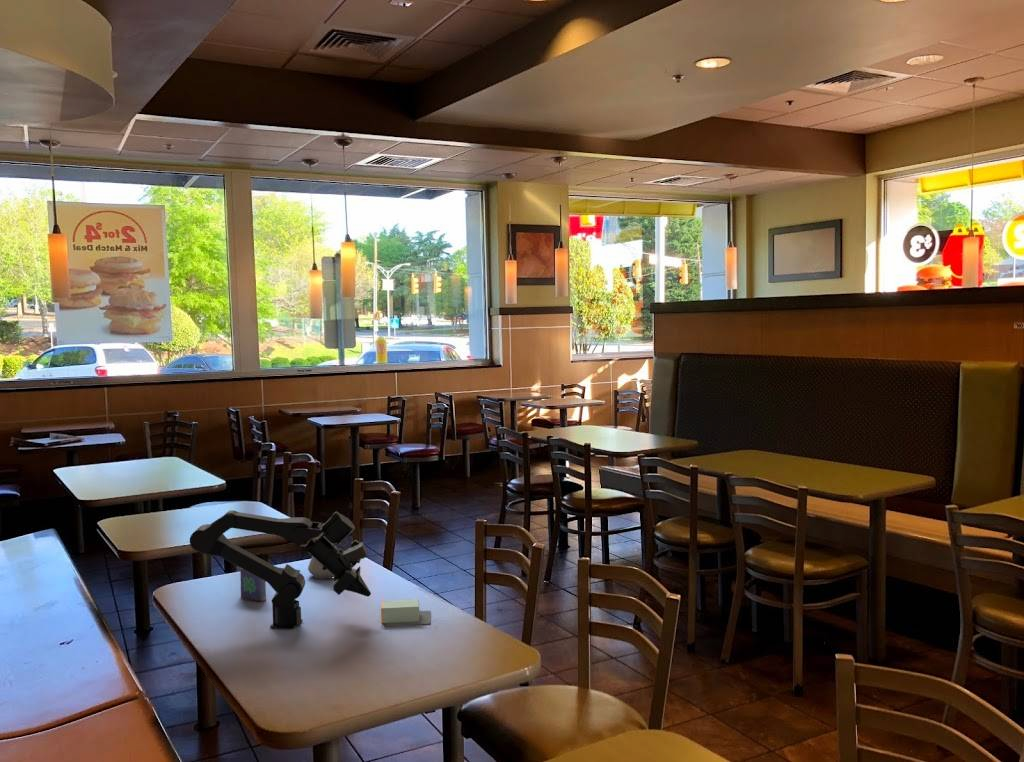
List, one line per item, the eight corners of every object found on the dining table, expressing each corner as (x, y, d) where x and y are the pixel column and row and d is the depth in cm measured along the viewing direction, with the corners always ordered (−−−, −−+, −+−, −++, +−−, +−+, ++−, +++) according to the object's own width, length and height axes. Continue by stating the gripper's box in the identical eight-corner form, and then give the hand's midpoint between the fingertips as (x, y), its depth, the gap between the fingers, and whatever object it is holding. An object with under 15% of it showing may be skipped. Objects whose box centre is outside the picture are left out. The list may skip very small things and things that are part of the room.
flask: (268, 600, 250) (266, 563, 249) (260, 603, 247) (259, 566, 246) (245, 595, 254) (243, 559, 254) (237, 598, 252) (236, 562, 251)
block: (381, 608, 228) (418, 606, 229) (382, 601, 234) (419, 599, 235) (381, 623, 228) (419, 621, 229) (382, 615, 234) (419, 613, 235)
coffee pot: (302, 574, 275) (301, 528, 274) (336, 568, 281) (335, 523, 280) (327, 591, 257) (326, 542, 256) (363, 584, 263) (362, 536, 262)
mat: (384, 626, 227) (384, 625, 226) (386, 613, 236) (386, 612, 236) (430, 624, 228) (430, 623, 228) (430, 611, 238) (430, 610, 238)
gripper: (346, 543, 220) (389, 584, 221) (352, 525, 238) (392, 564, 240) (315, 573, 219) (358, 615, 221) (323, 554, 238) (364, 592, 240)
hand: (369, 595), depth 231 cm, fingers closed
